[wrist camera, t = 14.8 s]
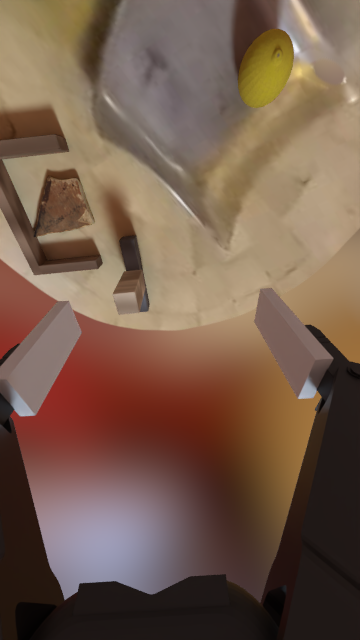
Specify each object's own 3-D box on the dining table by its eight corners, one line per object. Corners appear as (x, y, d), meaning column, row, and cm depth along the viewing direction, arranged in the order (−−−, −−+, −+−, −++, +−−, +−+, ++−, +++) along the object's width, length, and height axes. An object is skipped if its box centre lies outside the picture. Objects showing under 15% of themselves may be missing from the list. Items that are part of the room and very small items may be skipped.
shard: (38, 235, 37) (32, 237, 35) (11, 184, 33) (4, 184, 31) (97, 224, 36) (94, 226, 35) (78, 170, 32) (73, 170, 30)
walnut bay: (-15, 147, 30) (-32, 144, 27) (65, 138, 29) (55, 134, 27) (42, 269, 40) (34, 275, 37) (102, 263, 39) (98, 268, 37)
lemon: (256, 38, 25) (287, -13, 18) (282, 83, 27) (318, 52, 21) (222, 87, 27) (239, 57, 21) (248, 126, 29) (271, 110, 23)
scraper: (120, 236, 37) (101, 257, 27) (138, 235, 37) (126, 255, 27) (136, 305, 45) (126, 341, 35) (151, 303, 45) (145, 339, 35)
